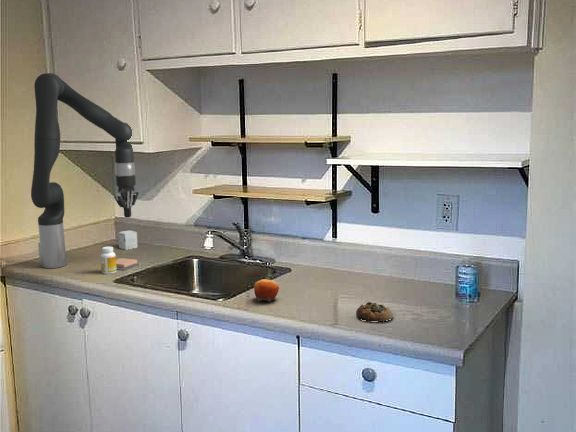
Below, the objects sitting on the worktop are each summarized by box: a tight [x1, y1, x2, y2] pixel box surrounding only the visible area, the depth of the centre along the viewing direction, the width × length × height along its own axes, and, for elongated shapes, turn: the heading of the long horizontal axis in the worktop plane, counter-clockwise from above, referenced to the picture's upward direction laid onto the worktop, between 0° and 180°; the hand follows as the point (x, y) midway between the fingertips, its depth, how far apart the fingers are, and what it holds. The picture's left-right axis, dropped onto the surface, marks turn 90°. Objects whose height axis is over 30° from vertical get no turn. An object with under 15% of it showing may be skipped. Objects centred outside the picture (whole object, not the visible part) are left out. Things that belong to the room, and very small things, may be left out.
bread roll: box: [355, 301, 394, 322], centre depth 185 cm, size 11×11×5 cm
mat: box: [101, 263, 140, 272], centre depth 247 cm, size 11×9×1 cm
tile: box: [116, 257, 138, 268], centre depth 249 cm, size 8×1×8 cm
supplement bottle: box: [100, 246, 118, 275], centre depth 238 cm, size 5×5×10 cm
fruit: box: [253, 278, 280, 303], centre depth 202 cm, size 8×8×8 cm
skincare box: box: [117, 230, 139, 251], centre depth 279 cm, size 6×6×7 cm
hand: (127, 217), depth 250 cm, fingers closed
